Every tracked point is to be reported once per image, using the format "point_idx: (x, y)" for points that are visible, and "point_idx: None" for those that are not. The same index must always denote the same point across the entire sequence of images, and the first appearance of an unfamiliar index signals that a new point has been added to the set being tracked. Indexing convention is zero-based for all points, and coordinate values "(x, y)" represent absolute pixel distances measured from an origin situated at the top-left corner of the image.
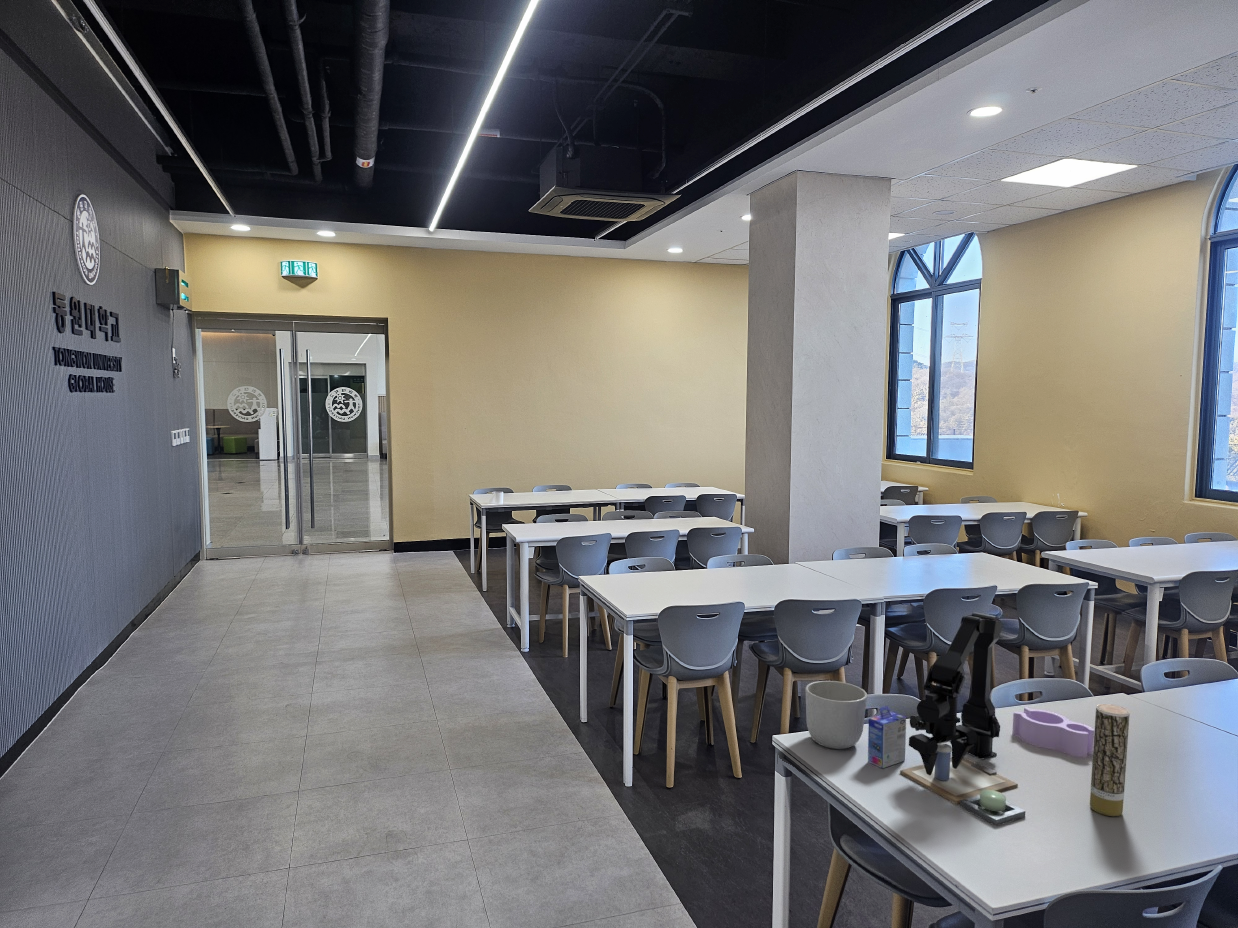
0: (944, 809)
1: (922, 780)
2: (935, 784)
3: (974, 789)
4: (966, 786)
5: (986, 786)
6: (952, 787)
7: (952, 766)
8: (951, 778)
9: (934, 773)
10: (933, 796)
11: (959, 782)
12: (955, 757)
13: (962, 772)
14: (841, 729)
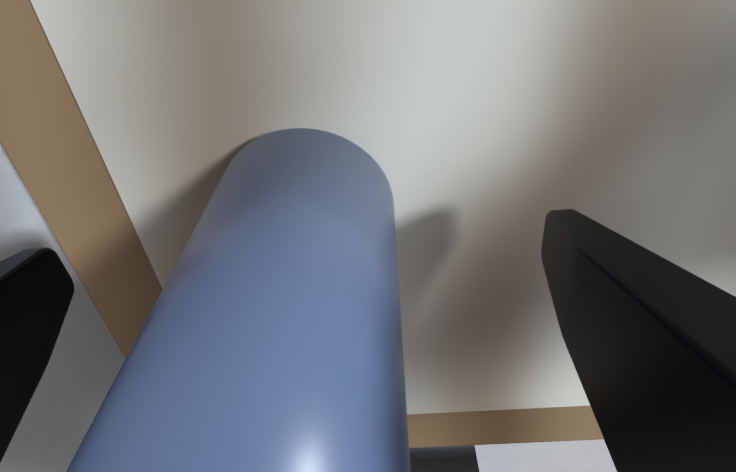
0: (71, 450)
1: (50, 154)
2: (154, 270)
3: (445, 404)
4: (426, 363)
5: (585, 401)
6: None
7: (549, 215)
8: (423, 226)
9: (221, 178)
10: (71, 338)
11: (430, 303)
12: (615, 367)
13: (695, 153)
14: None
